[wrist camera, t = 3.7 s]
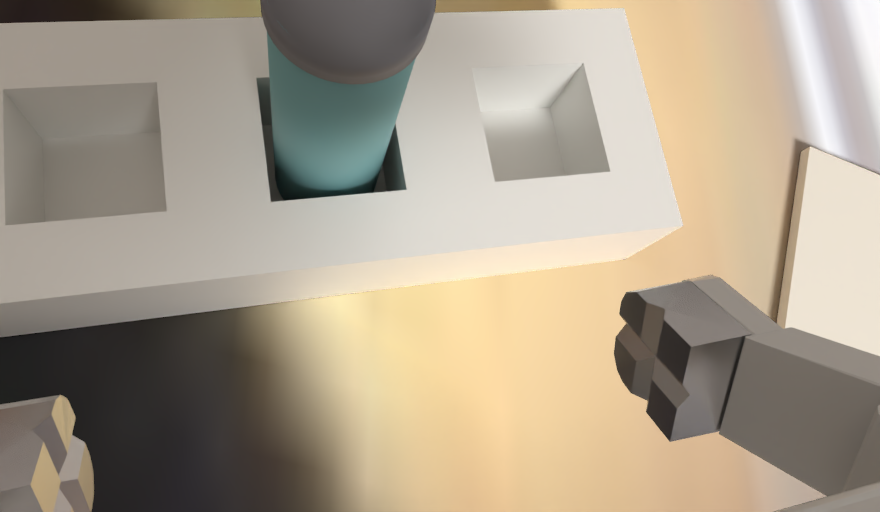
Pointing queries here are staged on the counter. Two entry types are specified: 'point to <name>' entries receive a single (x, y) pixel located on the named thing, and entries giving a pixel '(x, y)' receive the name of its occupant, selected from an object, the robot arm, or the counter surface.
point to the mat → (834, 253)
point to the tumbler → (338, 88)
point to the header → (315, 219)
